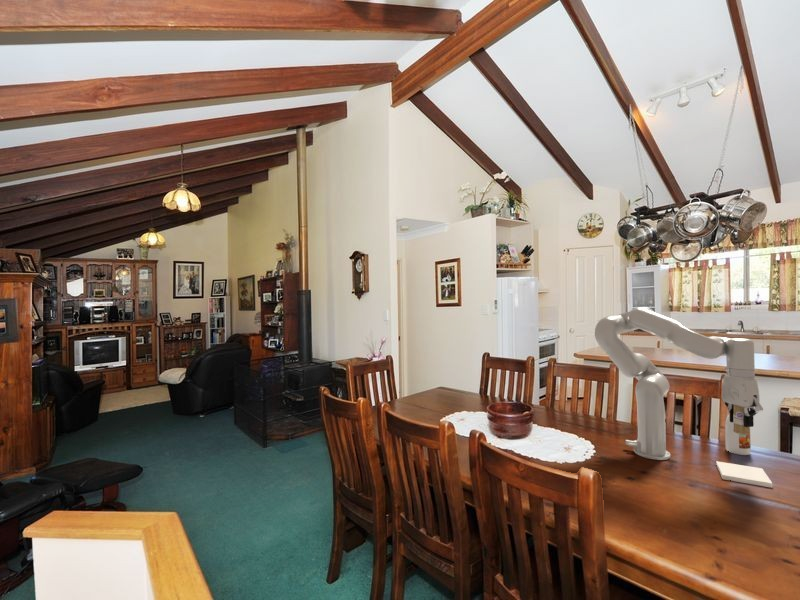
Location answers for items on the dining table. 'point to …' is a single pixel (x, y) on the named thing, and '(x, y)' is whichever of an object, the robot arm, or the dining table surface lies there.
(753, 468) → the ceramic tile
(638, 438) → the robot arm
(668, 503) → the dining table surface
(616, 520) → the dining table surface
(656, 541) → the dining table surface
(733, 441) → the milk bottle
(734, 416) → the sprinkles bottle
